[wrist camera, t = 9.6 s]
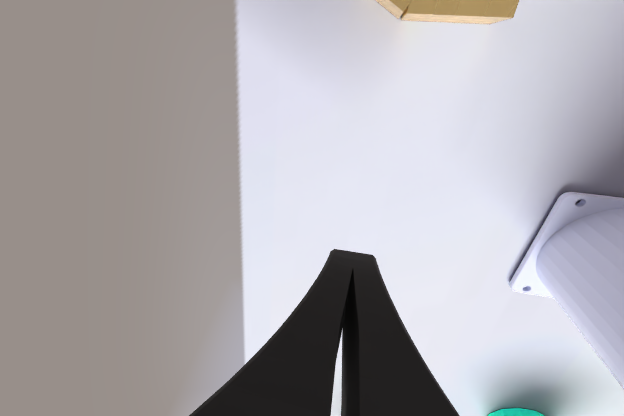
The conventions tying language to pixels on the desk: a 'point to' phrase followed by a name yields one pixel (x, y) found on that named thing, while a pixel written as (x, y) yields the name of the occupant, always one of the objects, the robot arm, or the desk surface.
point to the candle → (515, 412)
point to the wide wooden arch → (452, 10)
